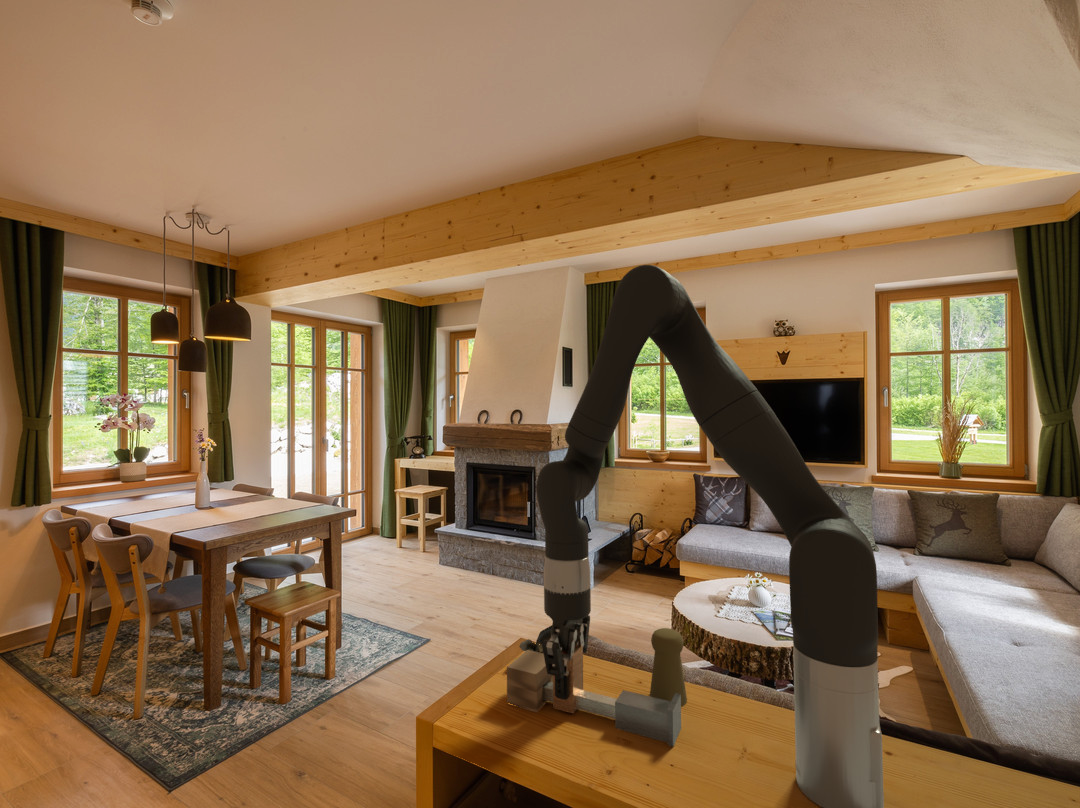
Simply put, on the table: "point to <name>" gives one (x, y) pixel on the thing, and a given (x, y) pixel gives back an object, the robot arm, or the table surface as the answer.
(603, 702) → the bar
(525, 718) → the table surface
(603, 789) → the table surface
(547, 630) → the eagle figurine
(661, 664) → the olive green pawn
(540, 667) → the socket block
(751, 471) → the robot arm
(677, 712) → the sleeve
